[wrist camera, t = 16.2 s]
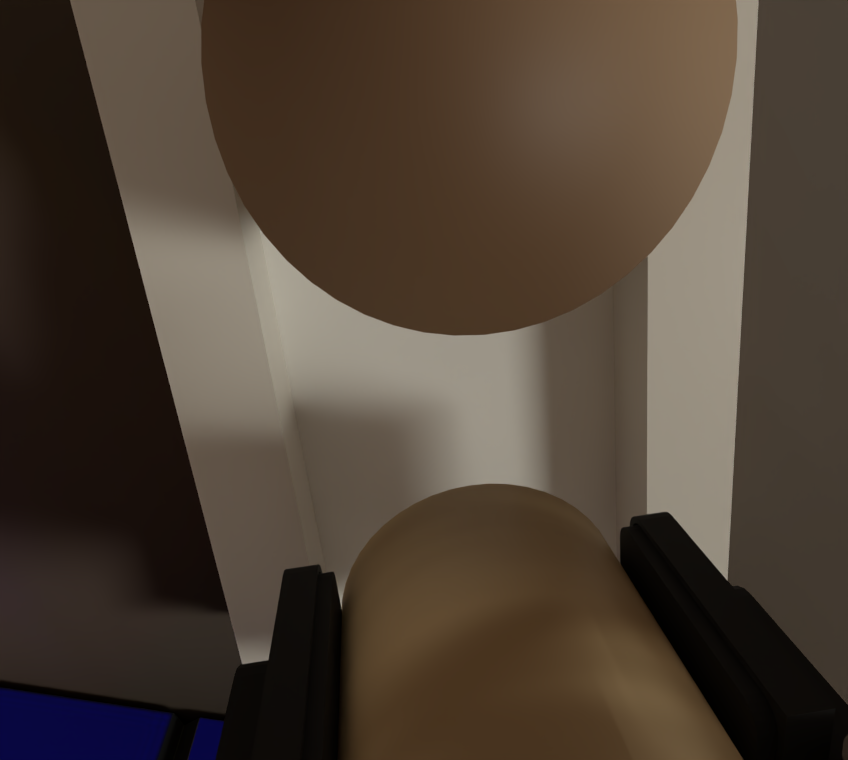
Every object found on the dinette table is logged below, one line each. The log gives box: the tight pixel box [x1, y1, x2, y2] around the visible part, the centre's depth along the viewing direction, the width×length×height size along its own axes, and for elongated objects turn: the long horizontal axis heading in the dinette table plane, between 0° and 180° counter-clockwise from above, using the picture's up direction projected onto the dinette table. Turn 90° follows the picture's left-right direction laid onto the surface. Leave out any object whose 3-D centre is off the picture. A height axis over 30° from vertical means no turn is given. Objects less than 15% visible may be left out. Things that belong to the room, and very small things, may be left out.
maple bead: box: [337, 484, 743, 760], centre depth 8 cm, size 5×5×6 cm
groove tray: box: [70, 0, 758, 664], centre depth 12 cm, size 13×10×3 cm
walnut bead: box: [201, 0, 738, 336], centre depth 8 cm, size 5×5×6 cm
